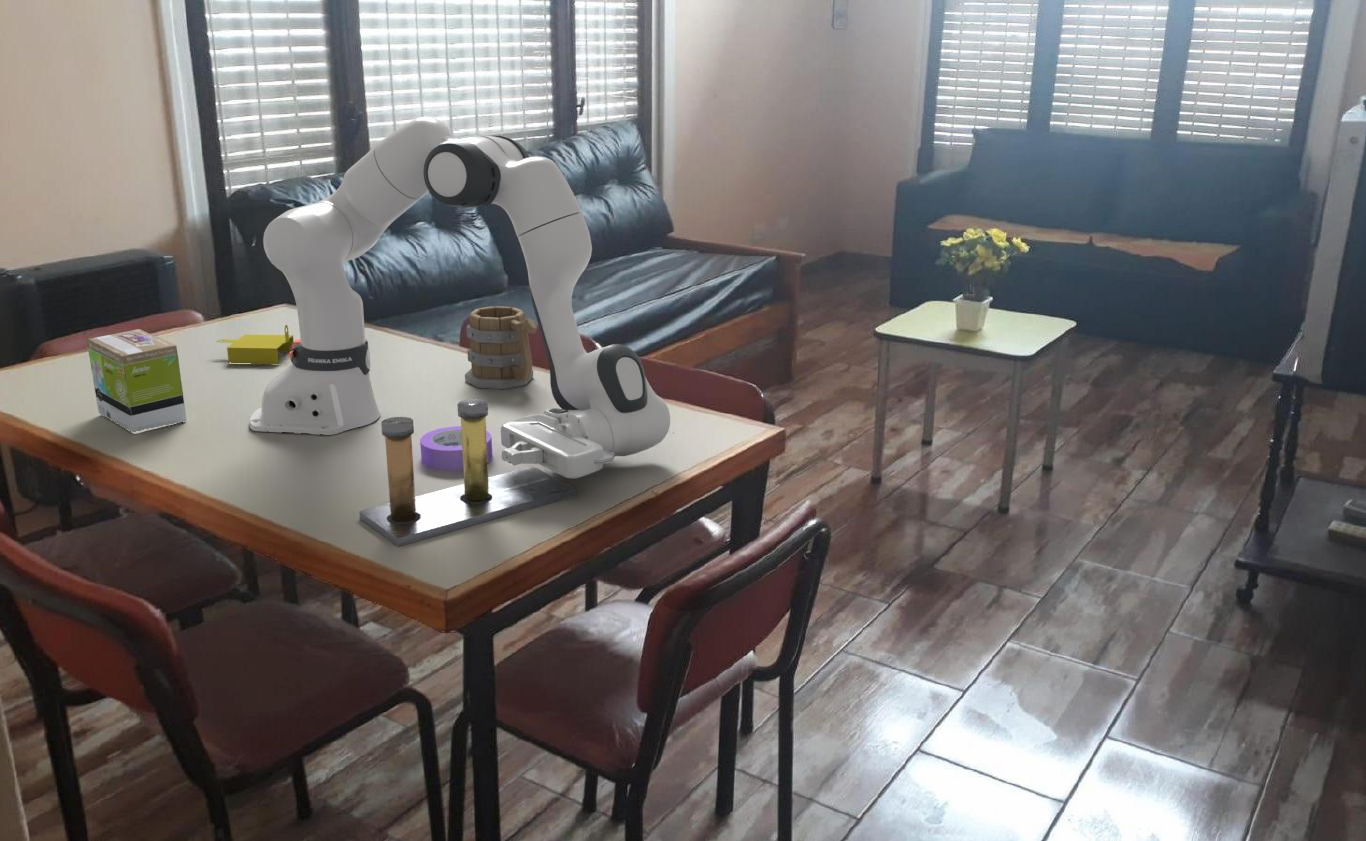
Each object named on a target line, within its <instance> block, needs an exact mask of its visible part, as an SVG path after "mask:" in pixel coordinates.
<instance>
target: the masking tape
mask: <svg viewBox="0 0 1366 841" xmlns="http://www.w3.org/2000/svg"><path fill="white" fill-rule="evenodd" d="M486 437H487V461H488V463H490V462H491V460H492V459H493V440H492V434H491V432H490V431H488V430H486ZM419 444H420V446H419V447H420V454H421V456H420V457H421V462H422V464H423V465H424V466H425V467H427V468H430V469H434V470H439V471H448V472H449V471H451V472H453V471H456V472H457V471H463V451H462V431H461V425H459V426H458V425H457V426H455V425H454V426H446V427H441V428H437V429H433V430H430V431H429V432H426V433H424V435H422V436H421V437H420V440H419Z"/></svg>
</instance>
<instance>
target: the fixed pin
mask: <svg viewBox="0 0 1366 841" xmlns="http://www.w3.org/2000/svg"><path fill="white" fill-rule="evenodd" d="M414 424H415V423H414V419H413V418H410V417H407V416H394V417H393V416H392V417H389V418H386V419H383V420H382V421H381V423H380V426H381V435H382V436H383V437H384V439H385V453H386V454H385V455H386V466H387V483H388V484H387V485H388V496H389V497H388V498H389V503H390V512H391V520H393V521H395V522H409V521H412V520H414V519H415V518H416V502H415V497H416V492H415V491H416V487H415V475H414V474H415V473H414V472H415V471H414V470H415V469H414V457H413V454H414V453H413V444H412V443H413V442H412V440H413V439H412V435H413V434H414V433H415V429H414V428H415V425H414Z"/></svg>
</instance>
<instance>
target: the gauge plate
mask: <svg viewBox="0 0 1366 841" xmlns="http://www.w3.org/2000/svg"><path fill="white" fill-rule="evenodd" d="M488 485H489V497H488V498H486V499H483V500H477V501H473V500H468V499H466V498H465V493H464V483H462V484H458V485H456V486H451V487H447V488H444V489H439V490H436V491H432V492H427V493H424V494H421V495H415V502H416V518H415V519H414V520H412V521H409V522H395V521H393V520H391V512H390V502H389V503H386V504H383V505H382V504H381V505H379V506H374V507H371V508H368V509H363V510H359V511H358V512H359V520H361V521H362V522H364V523H365V525H368V526H370V528H372V529H373V530H375V532H377V533H379V534H380V535H382V536H383V537H385V539H387V540H389V541H390V542H392V543H393V544H394V545H396V546H397V547H401V546H404V545H408V544H412V543H416V542H419V541H422V540H425V539H428V538H433V537H435V536H440V535H443V534H447V533H450V532H455V531H457V530H461V529H464V528H468V527H472V526H474V525H478V524H481V523H484V522H488V521H492V520H495V519H499V518H502V517H506V516H509V515H512V514H516V513H519V512H522V511H526V510H531V509H533V508H537V507H540V506H544V505H548V504H552V503H554V502H558V501H562V500H565V499H569V498H571V497H572V498H573V497H574V496H577V495H576V491H577V490H576V487H574V486H572V485H570V484H568V483H566V482H565V481H563V480H560V479H558V478H557V477H555V476H553V475H551V474H549V473H547V472H545V471H543V470H542V469H540V468H538V467H536V466H534V465H532V466H528V467H524V468H520V469H519V468H518V469H515V470H512V471H508V472H503V473H500V474H496V475H493V476H490V477H489V476H488Z"/></svg>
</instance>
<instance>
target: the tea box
mask: <svg viewBox="0 0 1366 841" xmlns="http://www.w3.org/2000/svg"><path fill="white" fill-rule="evenodd" d="M86 345H87V351H88V357H89V362H90V370H91V374H92V375H91V376H92V380H93V388H94V392H95V397H96V398H95V399H96V406H97V410H98V414H99V413H100V414H101V415H100V414H99V415H100V416H102V415H103V416H102V417H104V416H105V417H108V418H109V419H111V420H113V421H114V422H116V423H118V424H119V425H121V426H123V427H125V428H126V429H128V430H130V431H132V432H136V431H141V430H144V429H149V428H154V427H159V426H163V425H169V424H174V423H178V422H183V421H186V422H187V412H186V405H185V399H184V391H183V385H182V384H183V383H182V376H181V368H180V362H179V354H178V347H177V345H176V344H175V343H171V342H169V341H168V340H165V339H163V338H160V337H159V336H156V335H154V334H152V333H149V332H148V331H145V330H142V329H140V328H137V329H131V330H127V331H123V332H122V331H121V332H117V333H112V334H107V335H102V336H97V337H91V338H87V339H86ZM105 417H104V418H105ZM109 419H108V420H109ZM114 422H113V423H114ZM116 423H115V424H116ZM183 423H184V422H183ZM119 425H118V426H119ZM121 426H120V427H121ZM123 427H122V428H123ZM126 429H125V430H126Z"/></svg>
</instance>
